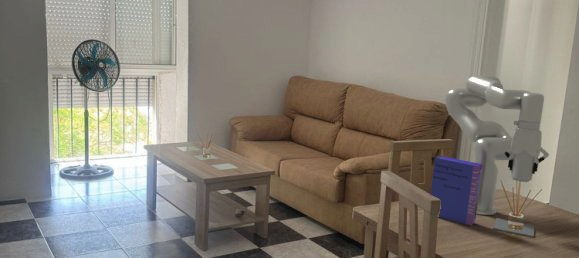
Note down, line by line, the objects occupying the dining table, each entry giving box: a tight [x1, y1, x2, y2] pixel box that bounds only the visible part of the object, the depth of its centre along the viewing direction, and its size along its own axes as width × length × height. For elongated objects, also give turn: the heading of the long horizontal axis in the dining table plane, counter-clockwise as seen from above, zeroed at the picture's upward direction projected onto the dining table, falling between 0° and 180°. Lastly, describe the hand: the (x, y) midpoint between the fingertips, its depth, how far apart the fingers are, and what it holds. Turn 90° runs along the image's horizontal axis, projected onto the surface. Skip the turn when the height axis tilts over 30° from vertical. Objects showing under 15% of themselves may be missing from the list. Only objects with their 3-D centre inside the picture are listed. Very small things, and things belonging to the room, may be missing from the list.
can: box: [510, 151, 535, 183], centre depth 195 cm, size 8×8×12 cm
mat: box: [492, 217, 535, 238], centre depth 199 cm, size 14×14×1 cm
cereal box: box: [430, 155, 483, 227], centre depth 203 cm, size 17×5×24 cm, turn 50°
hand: (522, 171), depth 195 cm, fingers closed on can, 7 cm apart
